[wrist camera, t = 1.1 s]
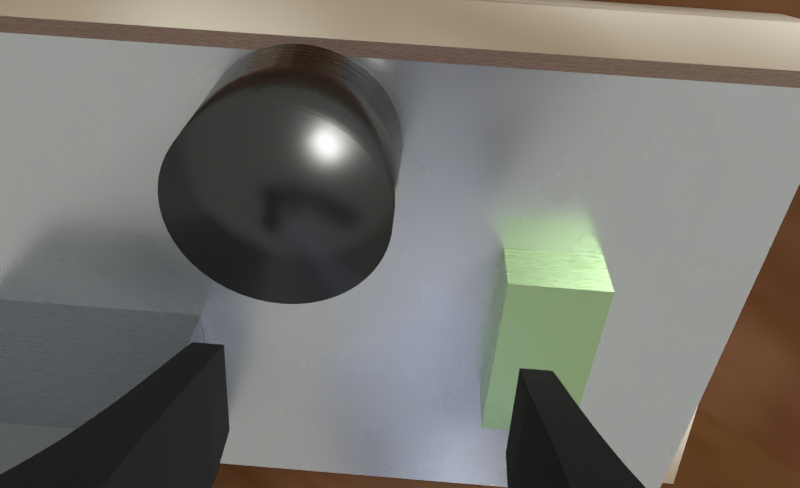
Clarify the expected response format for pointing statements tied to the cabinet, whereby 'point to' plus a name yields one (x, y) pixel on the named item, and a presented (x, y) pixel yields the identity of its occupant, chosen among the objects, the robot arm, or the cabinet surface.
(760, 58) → the leveling base
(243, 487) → the cabinet surface
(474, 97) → the leveling plate
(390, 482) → the cabinet surface
